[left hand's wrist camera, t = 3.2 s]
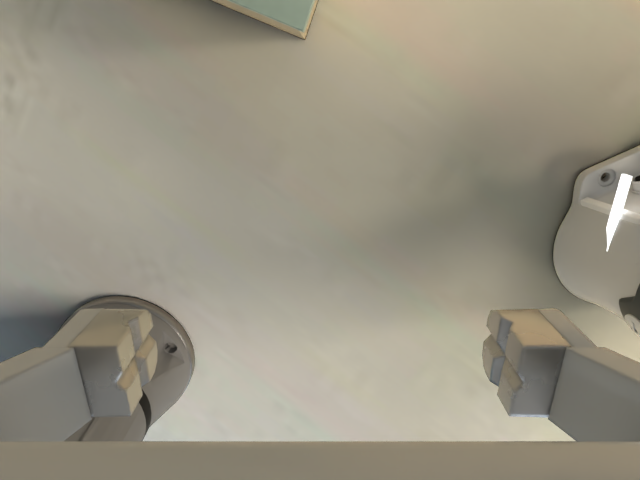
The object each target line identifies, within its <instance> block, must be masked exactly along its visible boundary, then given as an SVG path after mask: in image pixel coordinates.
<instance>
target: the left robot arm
mask: <svg viewBox="0 0 640 480" xmlns="http://www.w3.org/2000/svg"><path fill="white" fill-rule="evenodd" d="M604 173H606V176H605V178H604V179H602V180H601V176H602V175H603V174H604ZM553 261H554V267H555V270H556V273H557V276H558V278H559V279H560V281H561V283H562V284H563V285H564V287H565V288H566V289H567V290H568V291H569V292H571V293H572V294H573V295H575V296H576V297H578V298H580V299H582V300H585V301H588V302H591V303H594V304H596V305H598V306H600V307H603V308H605V309H606V310H608V311H610V312H612V313H614V314H615V315H617V316H619V317H620V318H622V319H623V320H625V321H626V323H627V324H628V326H629V327H630V328H631V329H632V330H633V331H634V332H635V333H636V334H637V335H638V336H639V337H640V145H639V146H637V147H635V148H632V149H630V150H628V151H626V152H623V153H621V154H619V155H617V156H614V157H612V158H610V159H608V160H605V161H603V162H601V163H599V164H596V165H594V166H592V167H590V168H588V169H586V170H584V171H582V172H581V173H580V174H579V176H578V177H577V179H576V182H575V186H574V191H573V199H572V204H571V207H570V209H569V211H568V213H567V215H566V216H565V218H564V220H563V222H562V223H561V225H560V228H559V230H558V232H557V235H556V239H555V243H554V249H553ZM152 327H153V321H152V316H151V313H150V312H149V311H148V310H144V309H104V308H100V309H82V310H80V311H79V312H78V313H77V314H76V315H75V316H74V317H73V318H72V319H71V320H70V321H69V322H68V323H67V324H66V325H65V326H64V327H63V328H62V329H61V330H60V331H59V332H58V333H57V334H55V335H54V336H53V337H52V338H51V339H50V340H49V341H48V342H47V343H46V344H45V345H44V346H43V347H35V348H33V349H31V350H28V351H26V352H24V353H21V354H19V355H17V356H15V357H12V358H10V359H8V360H5V361H3V362H1V363H0V480H640V363H639V362H637V361H635V360H632V359H630V358H628V357H625V356H623V355H621V354H619V353H616V352H614V351H612V350H609V349H607V348H605V347H597V346H596V345H595V344H594V343H593V342H592V341H591V340H590V339H589V338H588V337H587V336H586V335H585V334H584V333H583V332H582V331H581V330H580V329H579V328H578V327H576V326H575V325H574V324H573V323H572V322H571V321H570V320H569V319H568V318H567V317H566V316H565V315H564V314H563V313H562V312H561V311H560V310H558V309H555V308H549V309H515V310H491V312H490V314H489V316H488V320H487V327H488V329H489V330H490V332H491V333H492V334H491V335H490V336H489V337H488V338H487V339H486V340H485V341H484V344H483V352H482V356H483V366H484V369H485V372H486V375H487V377H488V379H489V380H490V381H491V382H492V383H494V384H495V385H497V386H498V393H497V395H498V397H499V399H500V401H501V402H502V404H503V406H504V408H505V410H506V411H507V413H508V415H509V416H518V417H548V419H549V420H550V421H551V422H553V423H554V424H555V425H556V426H558V427H559V428H560V429H562V430H563V431H564V432H565V433H567V434H568V435H569V436H571V437H572V438H573V439H574V440H576V441H298V442H248V441H64V440H66V439H67V438H68V437H70V436H71V435H72V434H73V433H75V432H76V431H77V430H79V429H80V428H81V427H82V426H84V425H85V424H86V423H88V422H89V421H90V420H91V419H92V418H91V417H121V416H131V415H132V413H133V411H134V410H135V408H136V406H137V404H138V402H139V401H140V399H141V397H142V395H143V393H142V386H143V385H145V384H146V383H148V382H149V381H150V380H151V379H152V377H153V375H154V373H155V369H156V364H157V344H156V341H155V340H154V339H153V338H152V337H151V336H150V335H149V334H148V333H149V332H150V330H151V329H152Z"/></svg>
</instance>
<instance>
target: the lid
mask: <svg viewBox="0 0 640 480" xmlns="http://www.w3.org/2000/svg"><path fill="white" fill-rule="evenodd" d="M227 1H229V2H232V3H234V4H236V5H239V6H241V7H243V8H246V9H248V10H251V11H253V12H255V13H258V14H260V15H263V16H265V17H267V18H270V19H272V20H274V21H277V22H279V23H282V24H284V25H286V26H289V27H291V28H293V29H296V30H298V31H301V32H303V33H304V32H305V30H306V27H307V24H308V21H309V18H310V15H311V12H312V9H313V6H314V3H315V0H227Z"/></svg>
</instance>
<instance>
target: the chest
mask: <svg viewBox="0 0 640 480" xmlns="http://www.w3.org/2000/svg"><path fill="white" fill-rule="evenodd" d="M211 1H213V2H215V3H218V4H220V5H223V6H225V7H227V8H230V9H232V10H235V11H237V12H239V13H242V14H244V15H247V16H249V17H251V18H254V19H256V20H258V21H261V22H263V23H266V24H268V25H270V26H273V27H275V28H278V29H280V30H282V31H285V32H287V33H290V34H292V35H294V36H297V37H299V38H301V39H304V40H305V39H306V36H307V33H308V30H309V27H310V24H311V21H312V18H313V15H314V12H315V9H316V6H317V3H318V0H315V3H314V6H313V9H312V12H311V15H310V18H309V21H308V24H307V27H306V30H305V32H304V33H303V32H301V31H298V30H296V29H293V28H291V27H289V26H286V25H284V24H282V23H279V22H277V21H274V20H272V19H270V18H267V17H265V16H263V15H260V14H258V13H255V12H253V11H251V10H248V9H246V8H243V7H241V6H239V5H236V4H234V3H232V2H229V1H227V0H211Z"/></svg>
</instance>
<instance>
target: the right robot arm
mask: <svg viewBox="0 0 640 480" xmlns="http://www.w3.org/2000/svg"><path fill="white" fill-rule="evenodd" d="M100 308H104V309H144V310H148V311H149V312H150V313H151V316H152V321H153V327H152V329H151V330H150V332H149V333H148V334H149V335H150V336H151V337H152V338H153V339H154V340H155V341H156V344H157V364H156V369H155V373H154V375H153V377H152V379H151V380H150V381H149V382H148V383H146V384H145V385H143V386H142V393H143V395H142V397H141V399H140V401H139V402H138V404H137V406H136V408H135V410H134V411H133V413H132V415H131V416H121V417H91V418H92V419H91V420H90V421H89V422H88V423H86V424H85V425H84V426H82V427H81V428H80V429H79V430H77V431H76V432H75V433H73V434H72V435H71V436H70V437H68V438H67V439H66V440H64V441H143V439H144V437H145V435H146V433H147V431H148V429H149V427H150V426H151V425H152V424H153V423H154V422H155V421H156V420H158V419H159V418H160V417H161V416H162V415H163V414H164V413H165V412H166V411H167V410H168V409H169V408H170V407H171V406H172V405H174V404H175V403H176V402H177V400H178V399H179V398H180V397H181V395H182V394H183V393H184V391H185V390H186V388H187V386H188V384H189V381H190V379H191V377H192V374H193V371H194V365H195V356H194V350H193V346H192V343H191V341H190V339H189V337H188V335H187V333H186V332H185V330H184V329H183V327H182V326H181V325H180V324H179V323H178V322H177V321H176V320H175V319H174V318H173V317H172V316H171V315H169V314H168V313H167V312H165V311H164V310H162V309H161V308H159V307H157V306H155V305H153V304H151V303H149V302H146V301H143V300H140V299H136V298H131V297H124V296H111V297H103V298H99V299H95V300H93V301H90V302H88V303H86V304H84V305H83V306H81V307H80V308H78V309H77V310H76V311H75V312H74V313H73V314H72V315H71V316H70V317H69V318H68V319H67V320H66V321H65V322H64V323H63V325H62V326H61V328H60V329H59V331H60V330H61V329H62V328H63V327H64V326H65V325H66V324H67V323H68V322H69V321H70V320H71V319H72V318H73V317H74V316H75V315H76V314H77V313H78V312H79V311H80V310H82V309H100ZM59 331H58V332H59Z"/></svg>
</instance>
